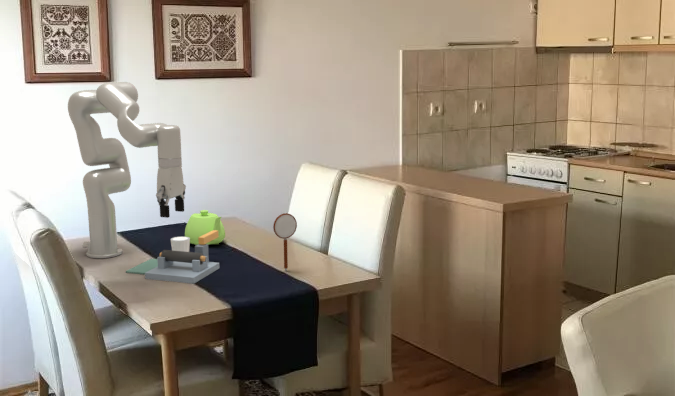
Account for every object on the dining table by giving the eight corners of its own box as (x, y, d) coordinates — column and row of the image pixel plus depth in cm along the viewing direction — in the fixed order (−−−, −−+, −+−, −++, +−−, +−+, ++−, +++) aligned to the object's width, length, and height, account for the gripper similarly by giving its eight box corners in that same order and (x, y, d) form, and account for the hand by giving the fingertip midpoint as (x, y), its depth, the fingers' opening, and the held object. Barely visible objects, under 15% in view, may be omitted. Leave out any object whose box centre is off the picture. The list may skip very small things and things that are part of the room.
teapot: (238, 246, 285) (237, 212, 282) (204, 252, 275) (203, 218, 273) (209, 235, 301) (207, 204, 299) (175, 241, 292) (174, 209, 289)
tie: (198, 244, 253) (198, 237, 253) (213, 236, 264) (213, 230, 263) (203, 244, 253) (203, 237, 252) (218, 237, 263) (218, 230, 263)
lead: (158, 261, 249) (157, 251, 249) (163, 258, 253) (163, 248, 252) (201, 265, 244) (201, 254, 244) (207, 262, 248) (206, 252, 247)
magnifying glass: (275, 273, 249) (274, 215, 245) (273, 272, 251) (272, 214, 247) (298, 269, 253) (297, 212, 249) (296, 268, 255) (295, 211, 251)
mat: (125, 272, 250) (125, 270, 250) (151, 260, 265) (151, 258, 265) (146, 274, 248) (146, 273, 248) (171, 262, 263) (171, 260, 263)
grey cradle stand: (145, 278, 244) (143, 254, 242) (173, 264, 261) (172, 241, 259) (194, 283, 238) (192, 258, 237) (219, 268, 255) (218, 245, 254)
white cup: (186, 260, 266) (185, 241, 264) (168, 259, 267) (167, 240, 266) (193, 255, 272) (192, 236, 271) (176, 254, 274) (175, 235, 272)
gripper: (173, 159, 252) (175, 208, 256) (145, 166, 236) (148, 219, 239) (193, 159, 250) (195, 209, 253) (166, 167, 234) (168, 220, 237)
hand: (172, 214), depth 246 cm, fingers open, 9 cm apart
